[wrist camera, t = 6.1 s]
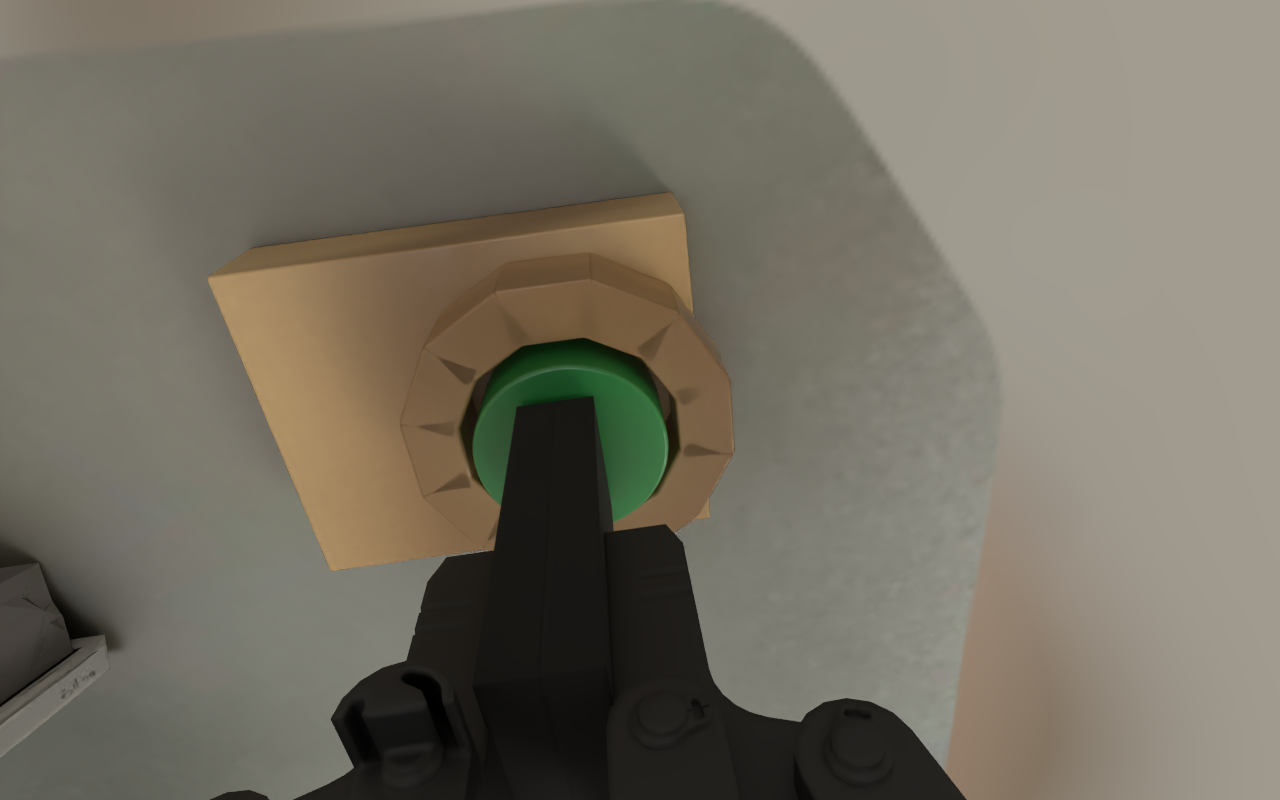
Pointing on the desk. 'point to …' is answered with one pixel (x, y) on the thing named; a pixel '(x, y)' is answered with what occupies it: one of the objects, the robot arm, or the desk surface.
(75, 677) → the electrical switch
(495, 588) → the robot arm
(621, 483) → the power button
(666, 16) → the desk surface
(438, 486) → the power button base
